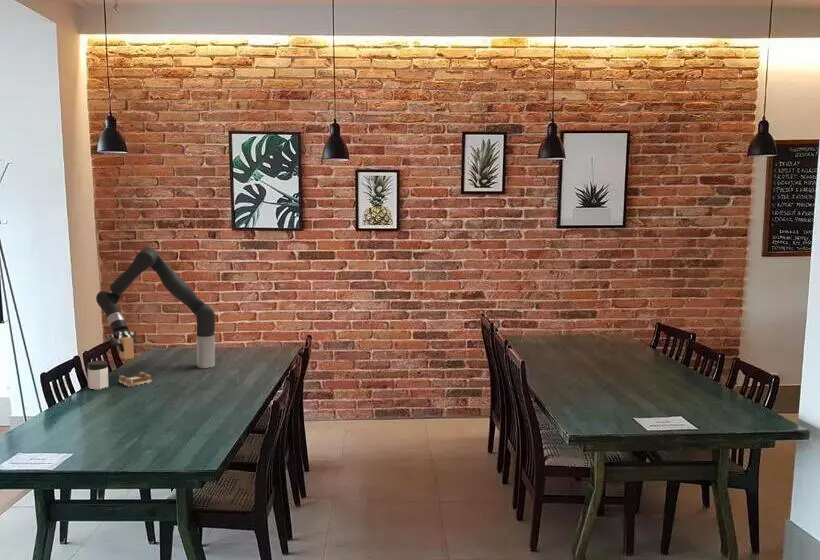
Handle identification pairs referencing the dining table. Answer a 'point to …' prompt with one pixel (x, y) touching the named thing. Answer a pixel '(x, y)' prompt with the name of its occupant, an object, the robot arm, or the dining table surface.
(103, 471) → the dining table surface
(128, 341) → the case
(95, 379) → the jar
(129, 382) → the display stand
